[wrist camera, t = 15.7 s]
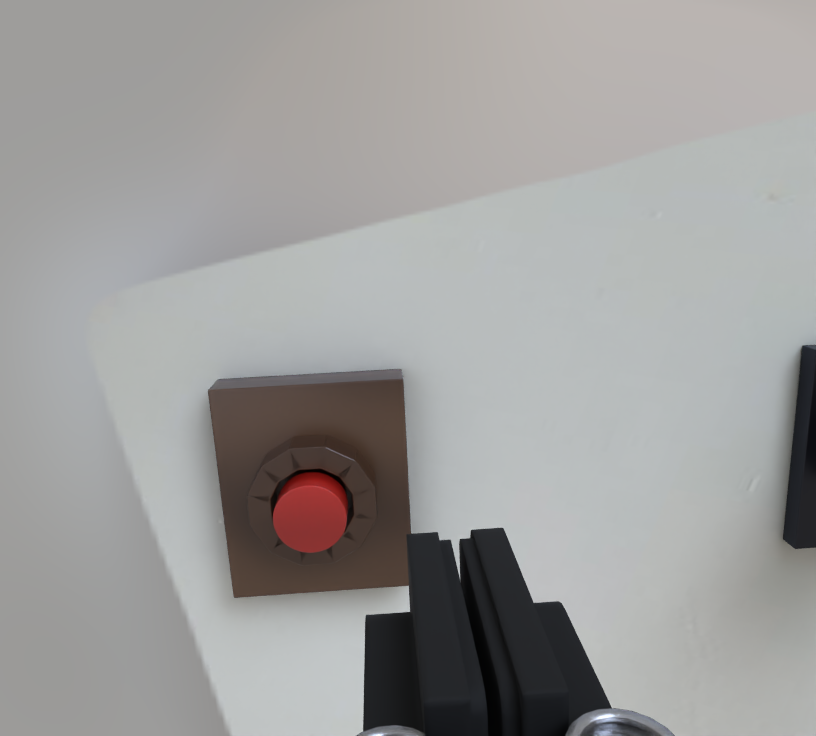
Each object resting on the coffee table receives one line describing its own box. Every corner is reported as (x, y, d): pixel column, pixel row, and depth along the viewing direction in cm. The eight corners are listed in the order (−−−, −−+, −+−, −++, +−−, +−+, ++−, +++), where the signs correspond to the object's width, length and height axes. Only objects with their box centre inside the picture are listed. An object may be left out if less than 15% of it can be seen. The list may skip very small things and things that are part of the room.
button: (274, 473, 33) (269, 488, 32) (345, 469, 33) (344, 483, 32) (281, 538, 34) (276, 555, 32) (350, 533, 34) (349, 550, 33)
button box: (217, 379, 36) (198, 400, 32) (401, 368, 36) (404, 388, 32) (241, 576, 39) (226, 618, 35) (411, 565, 39) (415, 604, 35)
